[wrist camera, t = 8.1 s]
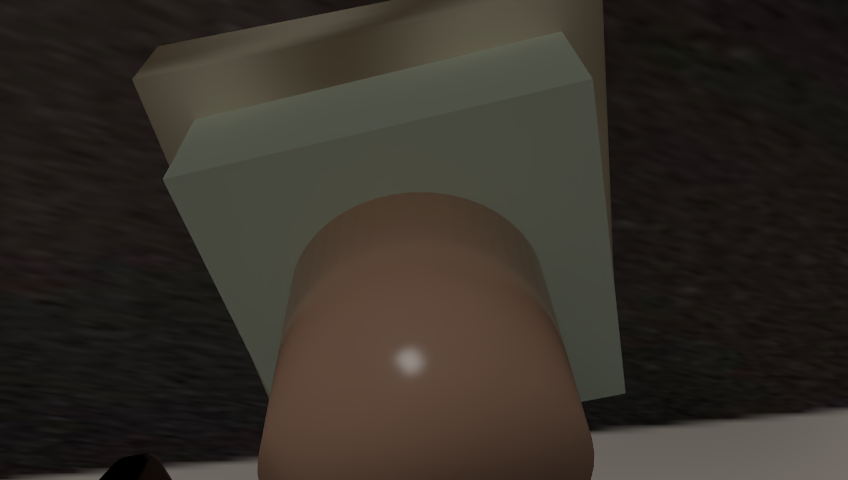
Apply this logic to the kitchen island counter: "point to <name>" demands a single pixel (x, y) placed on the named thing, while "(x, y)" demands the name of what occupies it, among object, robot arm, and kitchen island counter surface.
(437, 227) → the tan short cylinder
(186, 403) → the kitchen island counter surface
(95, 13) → the kitchen island counter surface
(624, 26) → the kitchen island counter surface
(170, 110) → the base slab
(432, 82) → the top slab
